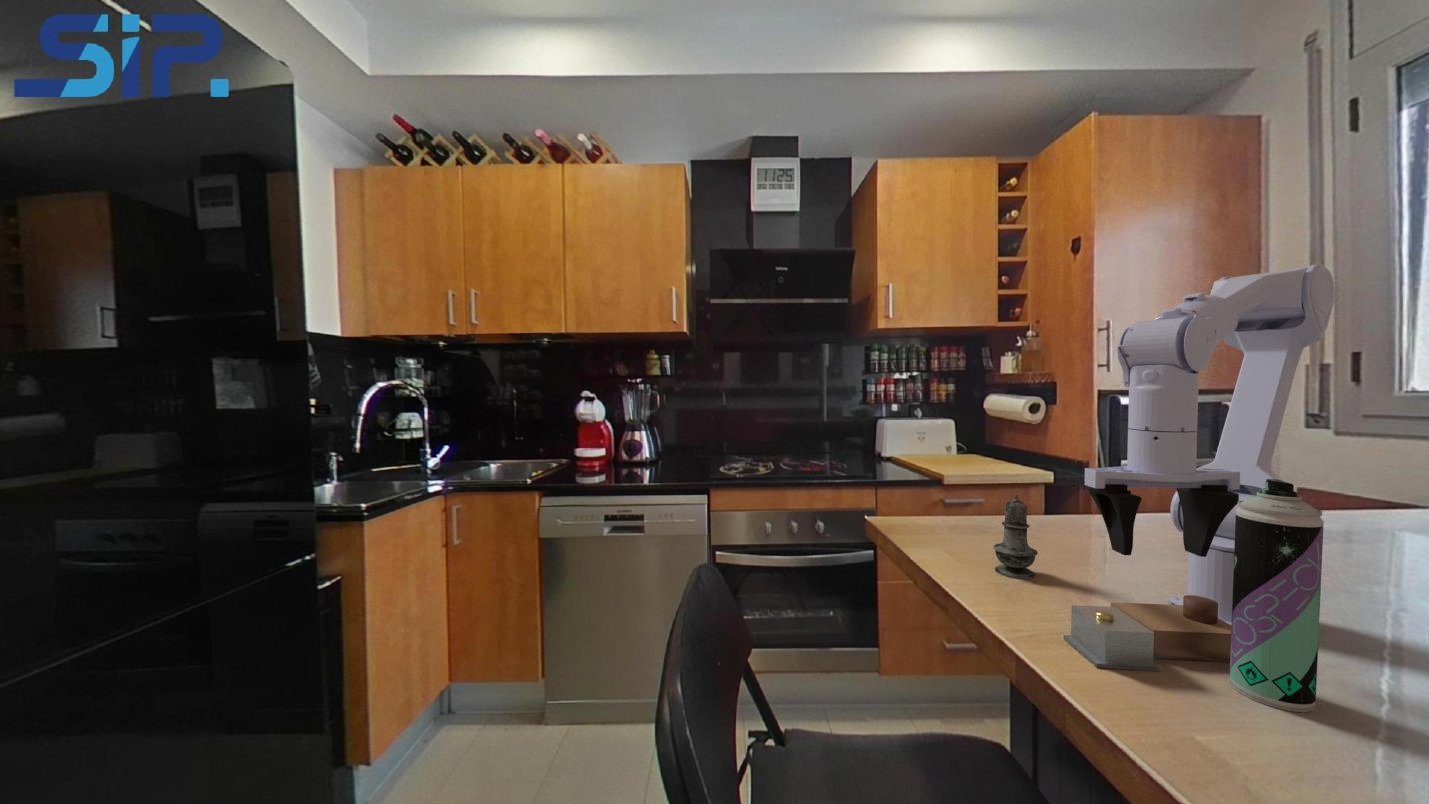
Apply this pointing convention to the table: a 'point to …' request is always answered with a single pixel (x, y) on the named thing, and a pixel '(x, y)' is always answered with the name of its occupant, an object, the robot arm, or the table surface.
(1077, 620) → the grey knob block
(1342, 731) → the table surface
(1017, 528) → the salt shaker
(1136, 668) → the mat
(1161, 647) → the body
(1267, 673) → the spray can
